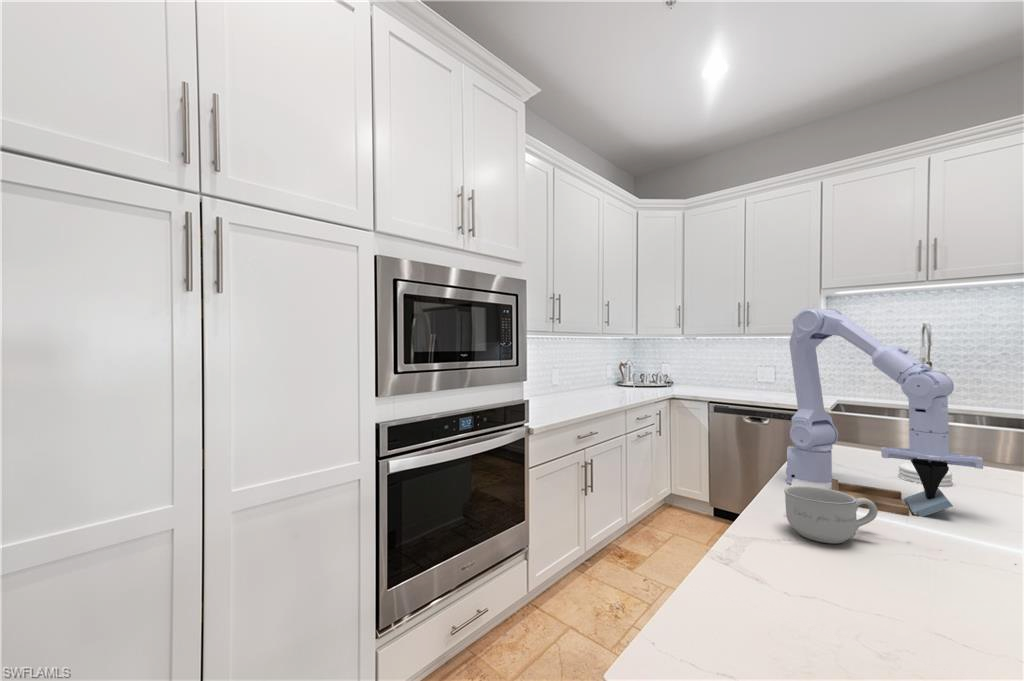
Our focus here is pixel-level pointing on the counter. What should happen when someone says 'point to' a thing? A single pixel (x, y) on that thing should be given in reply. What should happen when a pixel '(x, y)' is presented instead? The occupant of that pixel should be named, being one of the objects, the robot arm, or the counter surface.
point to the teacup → (825, 513)
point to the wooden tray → (874, 497)
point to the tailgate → (927, 503)
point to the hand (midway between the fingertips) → (930, 498)
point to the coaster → (911, 474)
